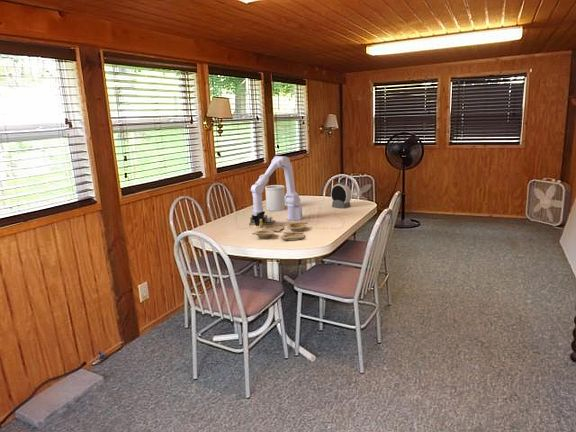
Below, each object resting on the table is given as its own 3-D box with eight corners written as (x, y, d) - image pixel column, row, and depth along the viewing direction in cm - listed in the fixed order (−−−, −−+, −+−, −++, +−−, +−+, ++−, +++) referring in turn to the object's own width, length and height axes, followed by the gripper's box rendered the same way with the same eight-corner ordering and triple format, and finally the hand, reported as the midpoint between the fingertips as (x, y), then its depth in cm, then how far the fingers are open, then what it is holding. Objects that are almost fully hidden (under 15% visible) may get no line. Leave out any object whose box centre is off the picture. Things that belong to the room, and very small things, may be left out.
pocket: (263, 220, 278) (263, 215, 278) (260, 223, 272) (260, 218, 271) (253, 220, 280) (253, 215, 279) (250, 223, 273) (250, 217, 273)
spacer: (262, 225, 269) (262, 219, 268) (260, 227, 265) (260, 220, 264) (258, 225, 270) (257, 219, 269) (256, 227, 266) (255, 220, 265)
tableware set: (302, 242, 230) (301, 235, 229) (250, 242, 235) (249, 235, 234) (310, 226, 263) (309, 220, 262) (264, 226, 269) (264, 220, 268)
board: (275, 221, 278) (275, 220, 278) (271, 225, 269) (271, 223, 269) (253, 221, 282) (253, 220, 281) (249, 225, 272) (249, 223, 272)
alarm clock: (328, 206, 319) (328, 182, 314) (337, 204, 325) (337, 180, 321) (345, 209, 307) (344, 184, 303) (353, 206, 313) (353, 182, 309)
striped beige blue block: (272, 221, 275) (272, 216, 274) (271, 222, 272) (271, 217, 271) (262, 221, 276) (262, 216, 276) (261, 222, 274) (260, 217, 273)
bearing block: (267, 221, 277) (267, 215, 276) (265, 223, 272) (264, 217, 271) (263, 220, 278) (262, 215, 277) (260, 223, 272) (260, 217, 271)
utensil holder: (287, 207, 323) (286, 184, 319) (283, 211, 309) (282, 187, 305) (268, 207, 326) (267, 185, 322) (264, 211, 312) (262, 188, 308)
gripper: (255, 201, 272) (256, 221, 275) (248, 205, 258) (249, 227, 261) (265, 201, 270) (266, 221, 273) (259, 205, 257) (260, 227, 260)
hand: (259, 224), depth 267 cm, fingers open, 7 cm apart
